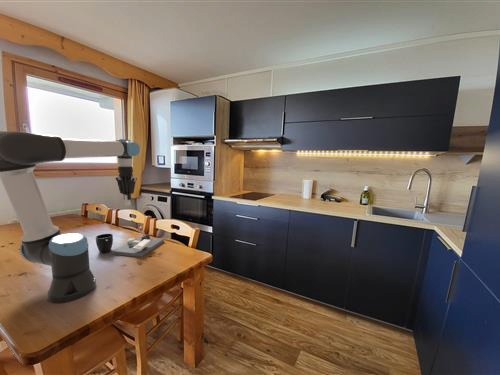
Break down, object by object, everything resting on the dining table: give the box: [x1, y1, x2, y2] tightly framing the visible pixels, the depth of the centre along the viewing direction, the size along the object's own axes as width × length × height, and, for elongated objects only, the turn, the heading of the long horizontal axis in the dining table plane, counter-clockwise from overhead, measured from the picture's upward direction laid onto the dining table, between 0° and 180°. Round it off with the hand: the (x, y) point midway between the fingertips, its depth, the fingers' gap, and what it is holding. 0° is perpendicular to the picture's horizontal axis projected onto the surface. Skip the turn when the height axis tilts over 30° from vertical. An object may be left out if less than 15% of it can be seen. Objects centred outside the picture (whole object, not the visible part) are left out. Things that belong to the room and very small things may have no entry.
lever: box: [138, 226, 147, 239], centre depth 136 cm, size 3×3×9 cm
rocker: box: [133, 239, 151, 251], centre depth 122 cm, size 10×4×2 cm, turn 171°
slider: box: [132, 240, 141, 247], centre depth 126 cm, size 2×4×3 cm, turn 81°
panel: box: [112, 234, 165, 258], centre depth 129 cm, size 23×18×5 cm
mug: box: [95, 233, 114, 254], centre depth 122 cm, size 8×12×10 cm
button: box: [126, 237, 136, 245], centre depth 130 cm, size 4×4×2 cm
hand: (127, 205), depth 125 cm, fingers closed
